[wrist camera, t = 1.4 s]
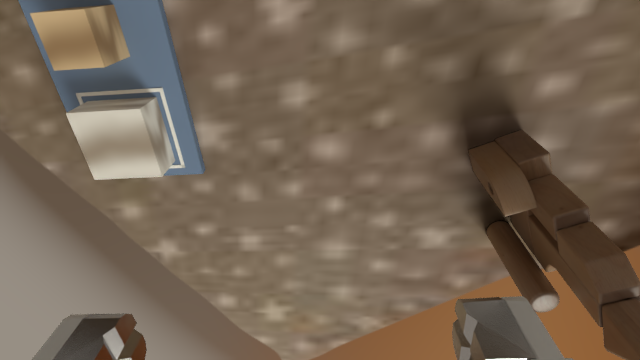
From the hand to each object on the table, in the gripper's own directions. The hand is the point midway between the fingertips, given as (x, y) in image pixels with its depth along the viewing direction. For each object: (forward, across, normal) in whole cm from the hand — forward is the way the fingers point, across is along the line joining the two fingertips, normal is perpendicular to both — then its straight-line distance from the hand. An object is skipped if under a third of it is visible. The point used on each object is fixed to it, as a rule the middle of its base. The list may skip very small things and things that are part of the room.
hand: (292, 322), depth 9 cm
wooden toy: (+35, -22, +18) cm, 45 cm away
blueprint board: (+34, +23, +1) cm, 41 cm away
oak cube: (+33, +23, -5) cm, 41 cm away
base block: (+34, +23, +6) cm, 41 cm away
